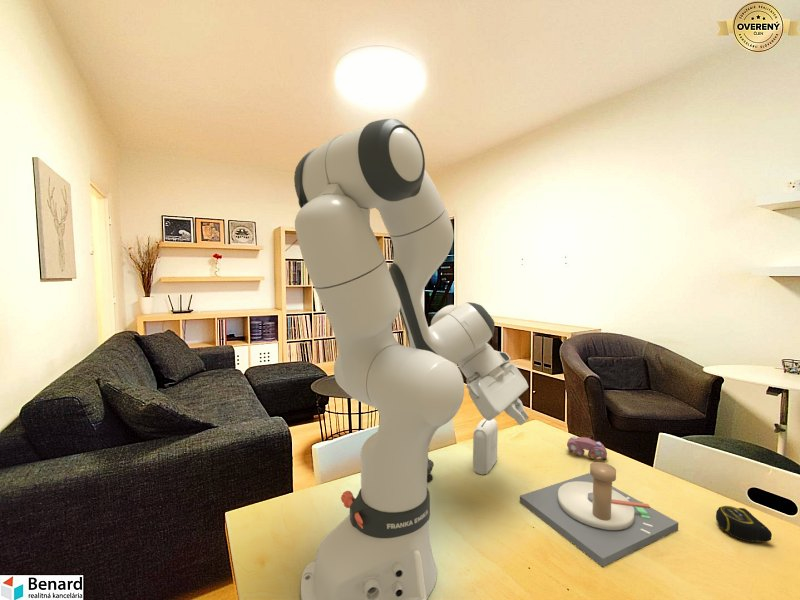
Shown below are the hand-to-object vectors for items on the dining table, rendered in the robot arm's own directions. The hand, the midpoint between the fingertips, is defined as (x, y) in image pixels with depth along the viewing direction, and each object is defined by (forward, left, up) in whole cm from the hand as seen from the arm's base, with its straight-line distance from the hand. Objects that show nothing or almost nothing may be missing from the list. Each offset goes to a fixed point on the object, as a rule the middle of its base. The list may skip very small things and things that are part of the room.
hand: (525, 421), depth 77 cm
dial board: (+12, -8, -19) cm, 24 cm away
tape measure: (+33, -23, -20) cm, 45 cm away
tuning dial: (+13, -9, -17) cm, 23 cm away
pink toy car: (+32, +10, -20) cm, 39 cm away
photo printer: (+4, +18, -19) cm, 27 cm away
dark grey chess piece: (-14, +20, -19) cm, 31 cm away
